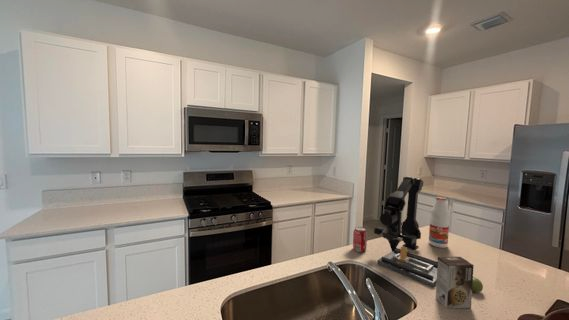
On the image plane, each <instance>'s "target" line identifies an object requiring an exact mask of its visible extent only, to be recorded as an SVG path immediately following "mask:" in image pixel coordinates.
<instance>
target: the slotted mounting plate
mask: <svg viewBox="0 0 569 320" xmlns="http://www.w3.org/2000/svg"><path fill="white" fill-rule="evenodd" d="M394 252H396V253H401V248H398V247H397V248H396V249H395V251H394ZM407 256H408V257H411V258H414V259H417V260H419V261H422V262H425V263H428V264H430V265H433V266H436V267H437V266H438V261H436V260H433V259H430V258H427V257H424V256H421V255H418V254H415V253H412V252H410V251H407ZM380 258H381V259H382V260H384V261H387V262H389V263H392V264H394V265H397V266H400V267H402V268H405V269H407V270H410V271H412V272H415V273H417V274H420V275H422V276H425V277H427V278H430V279H432V280H433V276H432V275H429V274H426V273H424V272H421V271H419V270H416V269H413V268H411V267H408V266H406V265H403V264H400V263H398V262H395V261H393V260H390V259H387V258H385V257H383V256H381V257H380Z"/></svg>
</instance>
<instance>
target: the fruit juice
mask: <svg viewBox="0 0 569 320" xmlns="http://www.w3.org/2000/svg"><path fill="white" fill-rule="evenodd" d="M446 202H447V198H446V197H444V196H443V197H442V196H436V197H435V202H434V204H433V206H432V208H431V210H430V214H431V217H430V219H429V228H428V229H429V230H428V244H429V245H431V246H433V247H436V248H440V249H444V248H447V247H448V245H449V228H450V221H449V217H450V211H449V209H448V206H447V204H446Z"/></svg>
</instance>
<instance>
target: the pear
mask: <svg viewBox="0 0 569 320" xmlns="http://www.w3.org/2000/svg"><path fill="white" fill-rule="evenodd" d="M483 289H484V286H483V283H482V281H481V280H480V279H479V278H477V277H475V276H473V283H472V293H480V292H482V291H483Z"/></svg>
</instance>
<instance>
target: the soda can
mask: <svg viewBox="0 0 569 320" xmlns="http://www.w3.org/2000/svg"><path fill="white" fill-rule="evenodd" d="M352 233H353V237H352V247H353V250H354V251H356V252H357V253H364V252H366V250H367V243H368V241H367V240H368V231H367V228H365V227H362V226H356V227H354V230H353V232H352Z"/></svg>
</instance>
